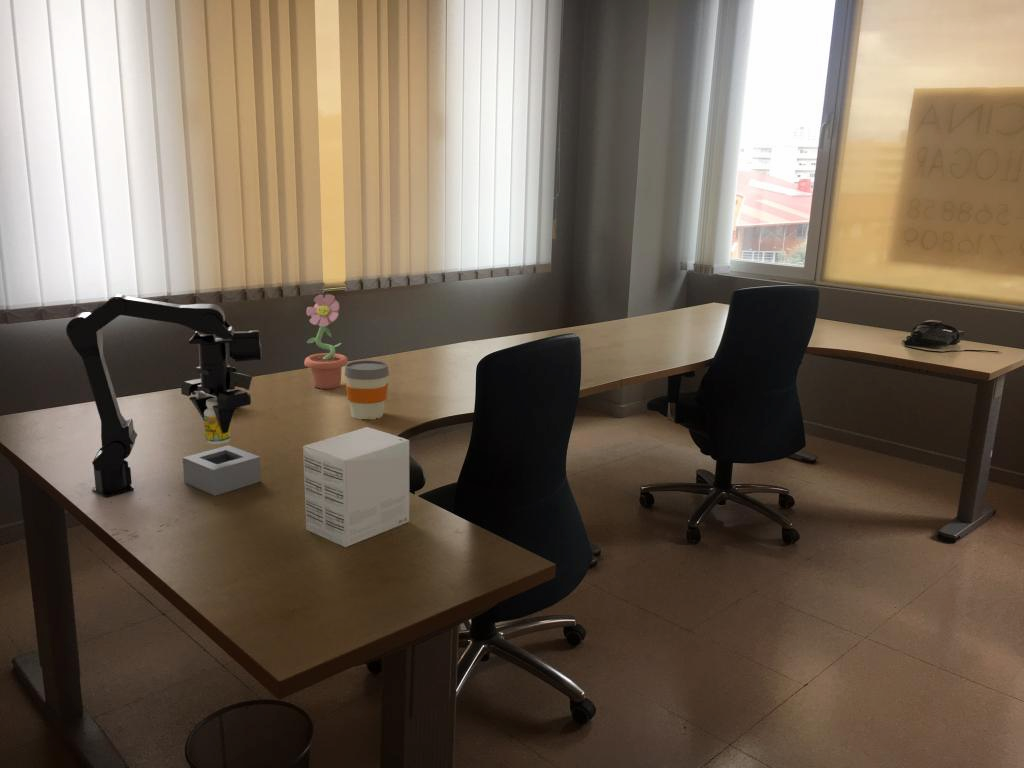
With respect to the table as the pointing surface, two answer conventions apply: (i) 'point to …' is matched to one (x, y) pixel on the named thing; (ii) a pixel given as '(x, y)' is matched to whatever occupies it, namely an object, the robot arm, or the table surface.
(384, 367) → the reusable coffee cup
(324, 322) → the decorative flower
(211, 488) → the drop box
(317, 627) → the table surface
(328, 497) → the supplement box
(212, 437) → the supplement bottle
